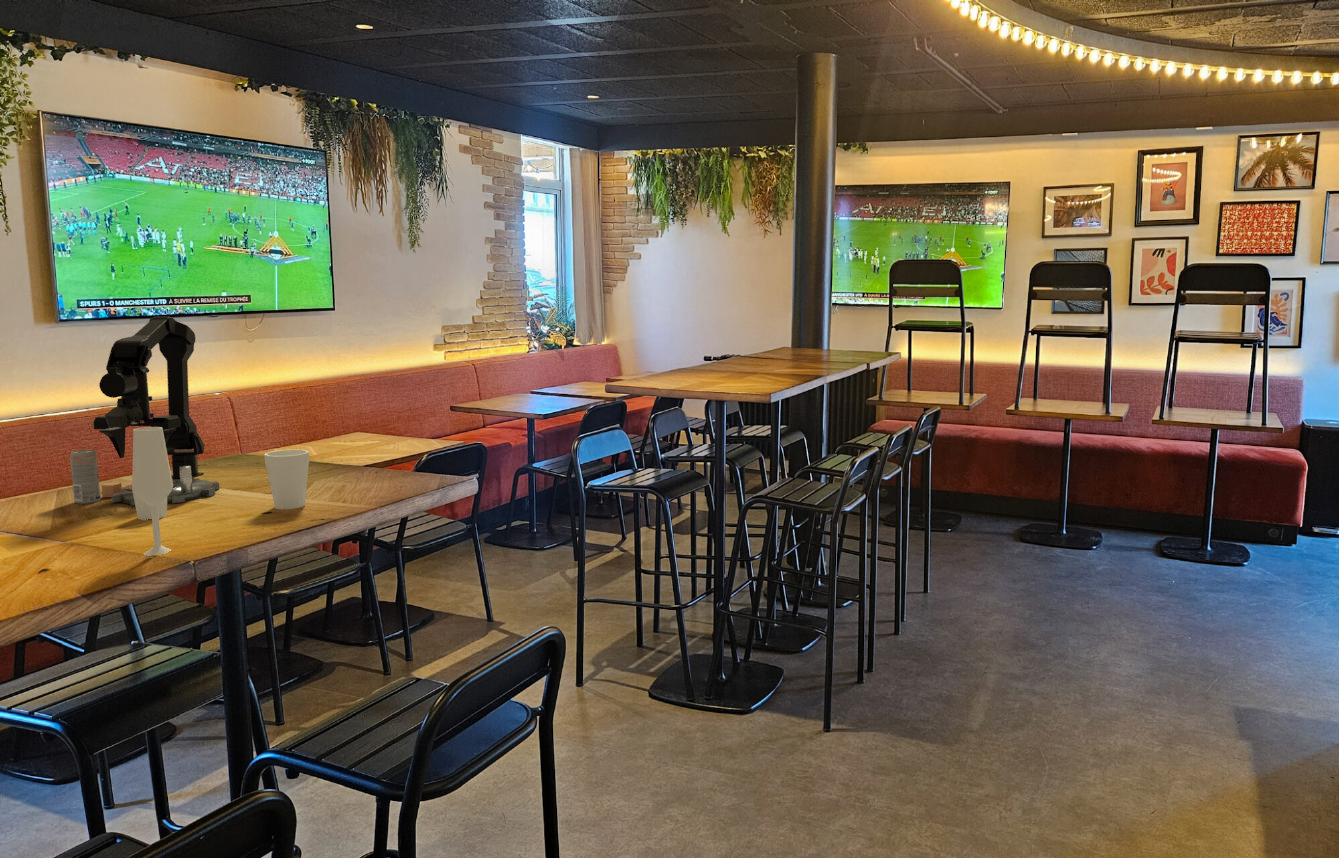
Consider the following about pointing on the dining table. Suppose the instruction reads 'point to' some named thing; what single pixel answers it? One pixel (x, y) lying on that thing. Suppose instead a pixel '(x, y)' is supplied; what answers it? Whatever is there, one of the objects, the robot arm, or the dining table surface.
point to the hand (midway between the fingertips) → (140, 458)
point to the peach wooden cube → (110, 489)
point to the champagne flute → (151, 476)
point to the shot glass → (149, 508)
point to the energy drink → (85, 476)
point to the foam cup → (288, 477)
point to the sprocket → (175, 489)
